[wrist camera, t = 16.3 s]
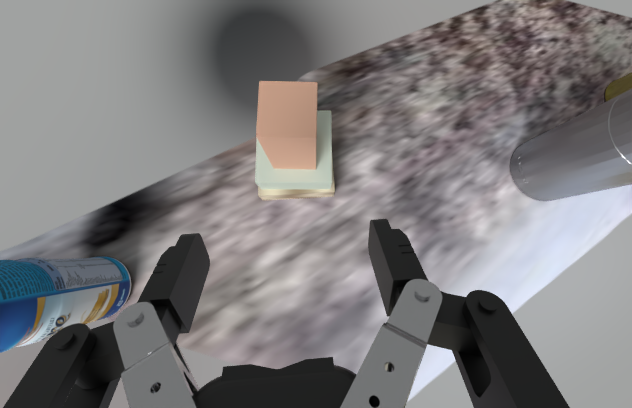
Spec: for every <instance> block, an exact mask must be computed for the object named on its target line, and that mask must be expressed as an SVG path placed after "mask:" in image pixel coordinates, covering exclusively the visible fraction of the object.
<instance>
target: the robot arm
mask: <svg viewBox="0 0 632 408" xmlns="http://www.w3.org/2000/svg"><path fill="white" fill-rule="evenodd" d="M510 170H511V175H512V178H513V180H514V182H515V184H516V185H517V187H518V188H519V189H520V190H521V191H522V192H523V193H524V194H526V195H527V196H529V197H531V198H533V199H536V200H541V201H551V200H557V199H561V198H566V197H571V196H577V195H582V194H586V193H591V192H596V191H601V190H606V189H611V188H616V187H620V186H625V185H630V184H632V89H630V90H628V91H626V92H624V93H622V94H620V95H618V96H616V97H614V98H612V99H610V100H608V101H606V102H604V103H602V104H600V105H598V106H596V107H595V108H593V109H591V110H589V111H587V112H585V113H583V114H581V115H579V116H577V117H575V118H573V119H571V120H569V121H567V122H565V123H563V124H561V125H559V126H557V127H555V128H553V129H551V130H549V131H547V132H545V133H543V134H541V135H539V136H537V137H535V138H533V139H531V140H529V141H527V142H525V143H524V144H522V145H520V146H519V147H518V148H517V149H516V151H515V152H514V153H513V156H512V158H511V163H510ZM368 248H369V255H370V259H371V262H372V266H373V269H374V273H375V276H376V280H377V283H378V286H379V290H380V293H381V297H382V300H383V303H384V307H385V310H386V314H387V316H390V317H389V319H388V321H387V323H386V324H385V323H384V324H383V325H382V327H381V328H380V330H379V332H378V334H377V336H376V338H375V340H374V342H373V344H372V346H371V348H370V350H369V352H368V354H367V356H366V358H365V360H364V362H363V364H362V366H361V368H360V370H359V372H358V374H357V375H356V374H355V373H353V372H352V371H350V370H348V369H346V368H343V367H340V366H336V365H334V364H333V357H328V358H317V359H306V360H303V361H301V362H298V363H295V364H292V365H290V366H287V367H284V368H282V369H271V368H266V367H261V366H256V365H251V364H249V365H238V366H227V367H223V372H222V376H220V377H218V378H216V379H214V380H212V381H210V382H209V383H207V384H206V385H205V386H203V387H202V388H201V389H199V387H198V385H197V383H196V381H195V380H194V377H193V376H192V373H191V371H190V369H189V367H188V365H187V363H186V361H185V359H184V356H183V354H182V352H181V350H180V348H179V346H178V344H177V342H176V340H177V338H178V335H179V334H180V333H189V331H190V328H191V325H192V321H193V318H194V315H195V312H196V309H197V306H198V302H199V299H200V296H201V293H202V290H203V287H204V283H205V280H206V277H207V274H208V271H209V266H210V259H209V255H208V253H207V250H206V247H205V245H204V242H203V240H202V237H201V235H200V234H199V233H196V234H183V235H181V236H180V237H179V240H178V242H177V244H176V246H171V247H169V248H168V249H167V250H166V251H165V252H164V253H163V254H162V255H161V257H160V259H159V261H158V263H157V266H156V267H155V269H154V271H153V274H152V275H151V277H150V279H149V281H148V282H147V284H146V286H145V288H144V290H143V292H142V294H141V296H140V298H139V300H138V302H137V303H136V304H133V305H131V306H129V307H127V308H126V309H125V310H123V311H122V312H121V313H120V314H119V315H118V317H117V318H116V320H115V321H113V322H111V323H108V324H105V325H102V326H100V327H97V328H94V329H90V328H88V326H87V325H85V324H83V323H76V324H72V325H69V326H67V327H65V328H63V329H61V330H59V331H58V332H57V333H55V334H54V335H53V336H52V337H51V338H50V339H49V340H48V341H47V342H46V344H45V345H44V347H43V348H42V350H41V351H40V353H39V354H38V356H37V357H36V359H35V360H34V362H33V363H32V365H31V366H30V368H29V369H28V371H27V372H26V374H25V376H24V377H23V378H22V380H21V381H20V383H19V385H18V386H17V387H16V389H15V391H14V392H13V394H12V395H11V396H10V398H9V400H8V401H7V403H6V404H5V406H4V407H3V408H108V407H109V405H110V402H111V400H112V397H113V394H114V392H115V390H116V387H117V385H118V382H119V380H120V377H121V378H122V382H123V385H124V389H125V393H126V396H127V400H128V404H129V407H130V408H405V405H406V403H407V400H408V397H409V394H410V391H411V388H412V385H413V383H414V380H415V377H416V374H417V371H418V369H419V366H420V363H421V360H422V357H423V355H424V352H425V349H426V346H427V344H429V345H433V346H437V347H442V348H446V349H450V350H452V352H453V354H454V357H455V359H456V362H457V364H458V367H459V370H460V372H461V375H462V377H463V380H464V382H465V385H466V388H467V390H468V393H469V396H470V398H471V401H472V403H473V406H474V408H570V407H569V406H568V404H567V403H566V401H565V399H564V398H563V396H562V394H561V393H560V391H559V390H558V388H557V386H556V385H555V383H554V381H553V380H552V378H551V377H550V375H549V373H548V372H547V370H546V369H545V367H544V365H543V364H542V362H541V360H540V359H539V357H538V356H537V354H536V352H535V351H534V349H533V348H532V346H531V344H530V343H529V341H528V339H527V338H526V336H525V335H524V333H523V331H522V330H521V328H520V326H519V325H518V323H517V322H516V320H515V318H514V317H513V315H512V314H511V312H510V310H509V309H508V307H507V305H506V304H505V303H504V302H503V301H502V300H501V299H500V298H499V297H498V296H496V295H494V294H492V293H490V292H487V291H483V290H475V291H472V292H470V293H469V294H468V295H467V297H462V296H457V295H451V294H447V293H444V292H442V291H440V290H439V288H438V287H437V286H436V285H434V284H433V283H431V282H429V281H428V279H427V277H426V275H425V273H424V271H423V269H422V267H421V265H420V262H419V260H418V258H417V256H416V254H415V253H414V250H413V248H412V246H411V243H410V241H409V239H408V237H407V236H406V235H405V234H404V233H403V232H402V231H401V230H400V229H391V227H390V225H389V222H388V220H387V219H378V220H371V221H370V229H369V242H368ZM74 383H75V384H74ZM73 385H74V386H73Z"/></svg>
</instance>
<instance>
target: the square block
mask: <svg viewBox="0 0 632 408" xmlns="http://www.w3.org/2000/svg"><path fill="white" fill-rule="evenodd" d="M256 137H257V139H258V141H259V142H260V144H261V146H262V148H263V150H264V152H265V153H266V155H267V157H268V159H269V161H270V163H271V165H272V166H273V168H274V169H313V170H316V147H317V82H283V81H282V82H281V81H259V98H258V115H257V133H256Z"/></svg>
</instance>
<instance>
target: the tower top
mask: <svg viewBox="0 0 632 408" xmlns="http://www.w3.org/2000/svg"><path fill="white" fill-rule="evenodd" d="M255 183H256V184H257V185H258V186H259V187H260V188H261V189H330V188H331V184H332V133H331V111H317V147H316V170H313V169H274V168H273V166H272V165H271V163H270V161H269V159H268V157H267V155H266V153H265V152H264V150H263V148H262V146H261V144H260V142H259V141H258V139H257V145H256V175H255Z"/></svg>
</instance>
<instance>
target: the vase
mask: <svg viewBox="0 0 632 408" xmlns="http://www.w3.org/2000/svg"><path fill="white" fill-rule="evenodd" d="M630 89H632V73H630V74H628V75H626V76H624V77H622V78H620V79H618V80H615V81H613V82H612V83H610V84H609V86H608V87H607V89H606V92H605V99H606V101H608V100H610V99H612V98H614V97H616V96H618V95H620V94H622V93H624V92H626V91H628V90H630Z"/></svg>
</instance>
